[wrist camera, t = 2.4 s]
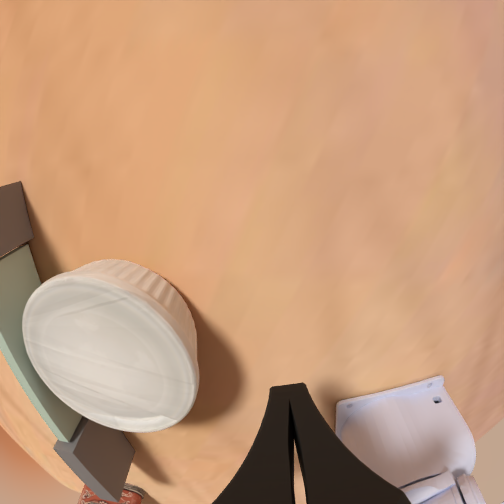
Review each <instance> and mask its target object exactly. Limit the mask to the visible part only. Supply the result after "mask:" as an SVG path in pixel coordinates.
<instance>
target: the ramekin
mask: <svg viewBox="0 0 504 504" xmlns="http://www.w3.org/2000/svg"><path fill="white" fill-rule="evenodd" d="M22 331H23V338H24V343H25V347H26V351H27V354H28V356H29V358H30V361H31V363H32V364H33V366H34V368H35V370H36V371H37V373H38V374H39V376H40V377H41V379H42V380H43V381H44V383H45V384H46V385H47V386H48V387H49V389H50V390H51V391H52V392H53V393H54V394H55V395H56V396H57V397H58V398H59V399H61V400H62V401H63V402H64V403H65V404H67V405H68V406H69V407H71V408H72V409H73V410H75V411H76V412H78V413H80V414H81V415H83V416H85V417H86V418H88V419H90V420H92V421H94V422H96V423H99V424H101V425H104V426H107V427H110V428H113V429H117V430H121V431H127V432H137V433H146V432H155V431H160V430H164V429H167V428H169V427H171V426H173V425H175V424H177V423H178V422H180V421H181V420H182V419H183V418H184V417H185V416H186V415H187V414H188V413H189V411H190V410H191V408H192V407H193V404H194V402H195V399H196V396H197V392H198V387H199V367H198V362H197V332H196V329H195V323H194V320H193V318H192V315H191V312H190V310H189V309H188V306H187V304H186V303H185V301H184V300H183V298H182V296H181V295H180V294H179V293H178V292H177V290H176V289H175V288H174V287H173V286H171V285H170V283H169V282H168V281H166V280H165V279H163V278H162V277H161V276H160V275H158V274H156V273H154V272H153V271H152V270H150V269H148V268H145V267H143V266H141V265H139V264H136V263H133V262H131V261H125V260H116V259H108V260H107V259H103V260H100V261H93V262H91V263H89V264H86V265H84V266H82V267H79V268H77V269H75V270H73V271H70V272H65V273H62V274H59V275H56V276H54V277H52V278H50V279H49V280H47V281H46V282H44V283H43V284H42V285H41V286H40V287H38V288H37V289H36V290H35V291H34V292H33V294H32V295H31V296H30V298H29V300H28V302H27V304H26V307H25V309H24V313H23V321H22Z"/></svg>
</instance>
